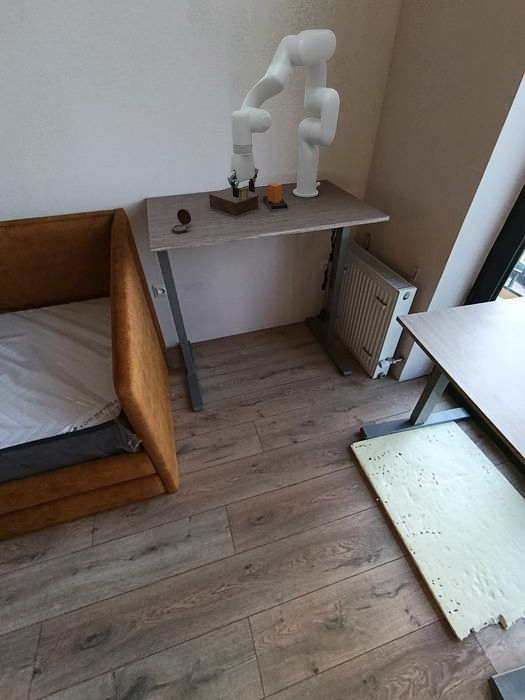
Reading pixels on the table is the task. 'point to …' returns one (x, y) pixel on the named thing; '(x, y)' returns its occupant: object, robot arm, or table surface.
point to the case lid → (228, 195)
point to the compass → (182, 221)
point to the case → (233, 206)
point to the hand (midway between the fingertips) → (244, 194)
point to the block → (274, 192)
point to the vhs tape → (276, 205)
